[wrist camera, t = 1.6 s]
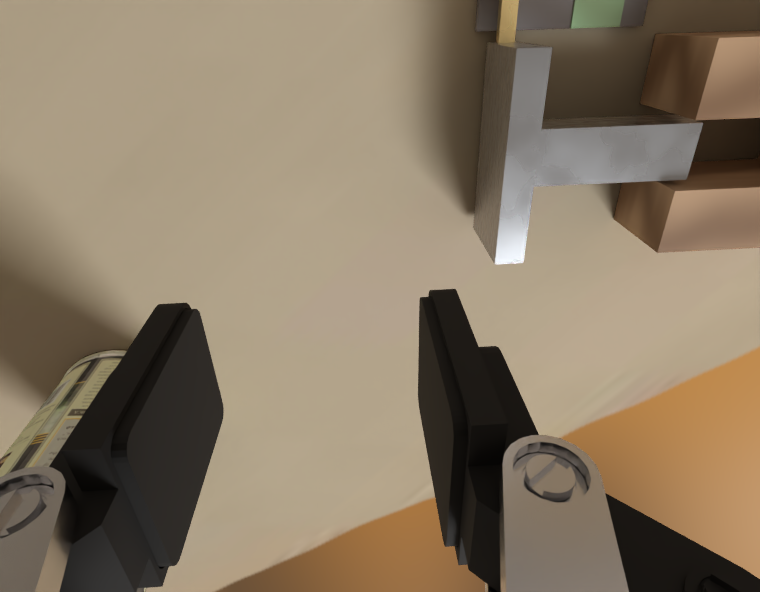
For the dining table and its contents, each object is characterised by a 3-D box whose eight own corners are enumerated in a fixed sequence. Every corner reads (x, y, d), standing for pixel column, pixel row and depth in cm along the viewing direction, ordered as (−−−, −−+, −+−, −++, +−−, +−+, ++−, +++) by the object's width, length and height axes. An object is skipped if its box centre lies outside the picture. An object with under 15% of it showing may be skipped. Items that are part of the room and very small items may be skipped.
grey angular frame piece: (491, -9, 23) (523, -15, 19) (693, -16, 24) (770, -22, 19) (473, 227, 30) (494, 264, 25) (634, 220, 30) (682, 254, 26)
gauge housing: (478, -16, 24) (514, -24, 19) (871, -28, 24) (1012, -39, 19) (462, 232, 30) (486, 276, 25) (773, 217, 31) (859, 257, 26)
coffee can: (196, 464, 39) (128, 666, 27) (58, 438, 37) (-84, 646, 25) (220, 367, 35) (150, 560, 22) (63, 331, 32) (-109, 524, 20)
